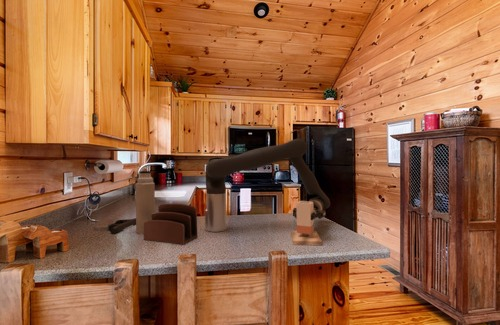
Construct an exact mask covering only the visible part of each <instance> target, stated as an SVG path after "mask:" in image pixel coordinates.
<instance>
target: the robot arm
mask: <svg viewBox="0 0 500 325" xmlns="http://www.w3.org/2000/svg"><path fill="white" fill-rule="evenodd" d="M305 141H306V140H305ZM305 141H304V140H303V139H302V138H294V139H292V140H288V142H284V143H282V144H277V145H269V146H263V147H259V148H258V147H257V148H255V149H251V150H247V151H245V152H242V153H240V154H238V155H235V156H231V157H225V158H214V159H211V160H209V161H208V162H207V163H206V166H205V189H206V190H205V191H206V192H205V195H206V196H205V198H206V199H205V200H206V202H205V203H206V208H205V210H204V217H205V218H204V228H205V229H204V231H207V232H211V233H213V232H214V233H217V232H224V231H226V230H227V187H226V176H230V175H233V174H235V173H238V172H244V171H250V170H255V169H258V168H263V167H266V166H268V165H271V164H274V163H277V162H280V161H282V160H286V159H289V161H290V162H291V164H292V165H293V167H294V169H295V170H296V172H297V174H298V176H299V178H300V180H301V182H302V185H303V187H304V189H305V190H306V193H307V194H308V195H309V196H310V195H311V196H312V195H313V196H314V195H316V197H313V198H310V199H309V200H308V201H310V202H313V213H312V214H311V220H313V219H314V220H315V219H317V218H318V220H319V219H320V220H321V219H324V218H325V217H326V209H328V208H330V206H331V201H330V199H329V197H328V196H327V194H325V192H324V191H323V190H322V189H321V187H320V185H319V182H318V179H317V178H316V176H315V175H314V173H313V172H312V171H311V170H312V169H310V168H309V167H308V165H307V164H306V162H305V160H304V158H303V156H304V155H305V154H306V152H308V151H307V150H308V144H307V143H306V142H305ZM292 216H293V217H294V219H296V220H297V207H294V208H293V209H292Z"/></svg>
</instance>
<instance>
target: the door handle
mask: <svg viewBox="0 0 500 325" xmlns="http://www.w3.org/2000/svg"><path fill="white" fill-rule="evenodd" d="M134 225H135V226H136V217H135V218H131V219H129V218H127V219H117V220H115V221H114V223H111V224H108V225H102V226H101V225H100V226H93V227H92V228H93V231H108V232H109V233H111V234H113V235H114V234H117V233H120V232H123V231H126V230H128V229H130V228H131V227H134Z"/></svg>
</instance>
